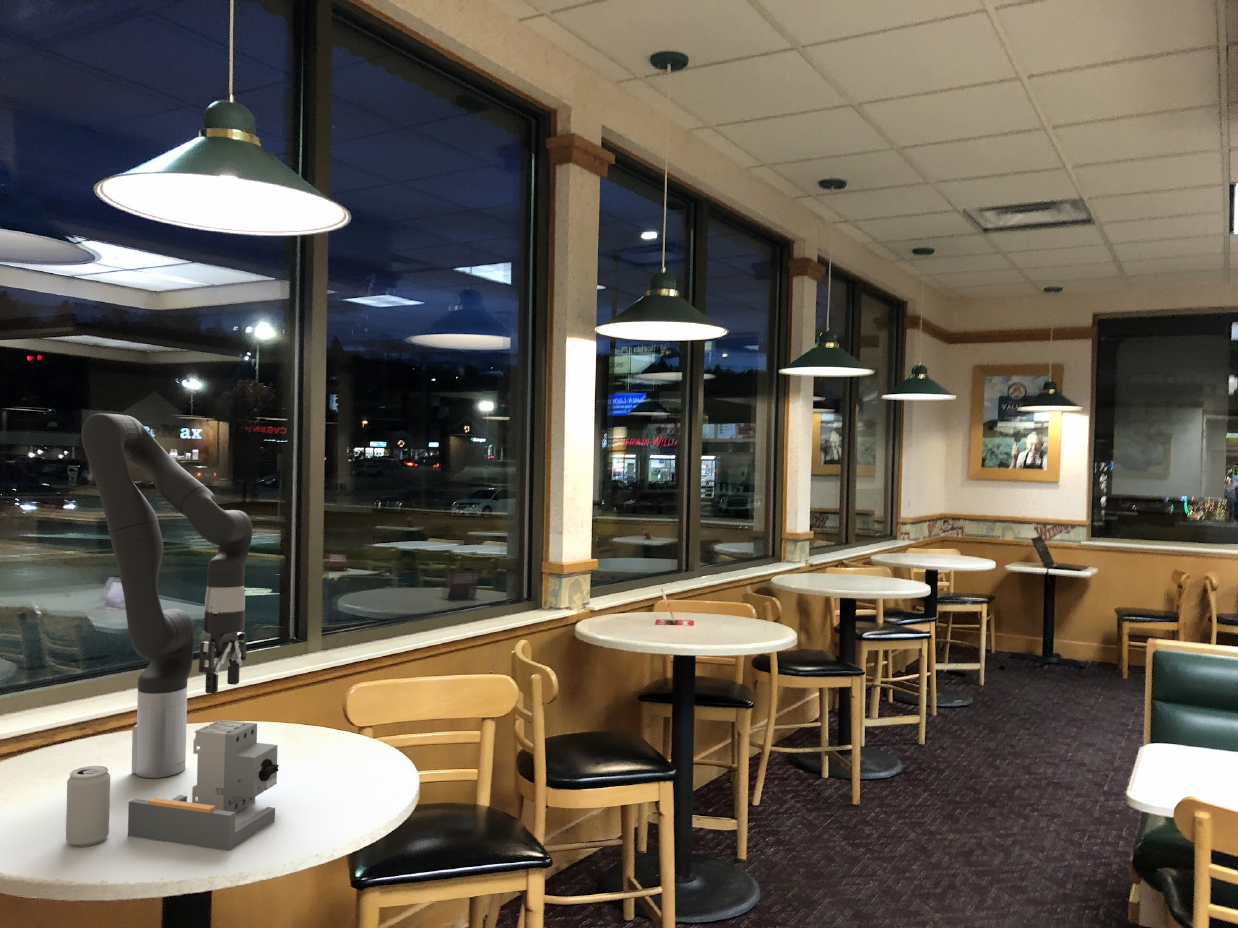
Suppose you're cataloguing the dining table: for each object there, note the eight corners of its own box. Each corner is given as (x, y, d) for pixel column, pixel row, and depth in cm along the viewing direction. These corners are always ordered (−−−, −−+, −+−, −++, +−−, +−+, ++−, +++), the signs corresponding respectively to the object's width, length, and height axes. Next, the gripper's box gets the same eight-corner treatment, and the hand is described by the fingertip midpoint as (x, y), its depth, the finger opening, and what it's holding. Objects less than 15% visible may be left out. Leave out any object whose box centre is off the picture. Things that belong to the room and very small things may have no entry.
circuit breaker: (261, 819, 169) (263, 737, 169) (191, 811, 172) (193, 730, 172) (284, 804, 177) (286, 725, 177) (217, 796, 180) (218, 719, 179)
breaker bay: (127, 835, 161) (128, 798, 161) (179, 808, 173) (180, 772, 173) (228, 850, 156) (229, 811, 156) (274, 821, 169) (275, 785, 169)
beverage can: (77, 832, 161) (78, 764, 161) (115, 832, 162) (117, 764, 162) (58, 848, 155) (59, 777, 155) (98, 848, 156) (99, 777, 155)
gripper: (225, 603, 197) (222, 680, 196) (188, 612, 183) (185, 695, 182) (259, 604, 196) (257, 682, 195) (224, 613, 182) (222, 696, 181)
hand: (222, 688), depth 189 cm, fingers open, 8 cm apart
